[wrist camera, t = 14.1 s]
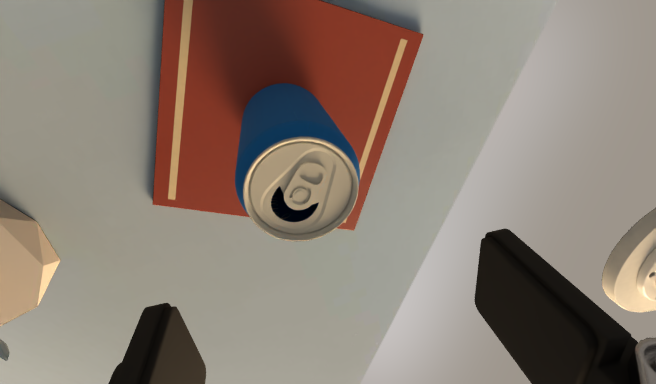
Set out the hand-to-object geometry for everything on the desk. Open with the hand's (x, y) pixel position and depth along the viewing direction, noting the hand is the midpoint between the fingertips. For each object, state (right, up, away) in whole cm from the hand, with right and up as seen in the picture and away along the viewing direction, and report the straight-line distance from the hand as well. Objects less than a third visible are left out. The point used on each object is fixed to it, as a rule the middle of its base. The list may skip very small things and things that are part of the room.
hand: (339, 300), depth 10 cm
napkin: (-4, +9, +17) cm, 19 cm away
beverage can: (-4, +9, +17) cm, 19 cm away
